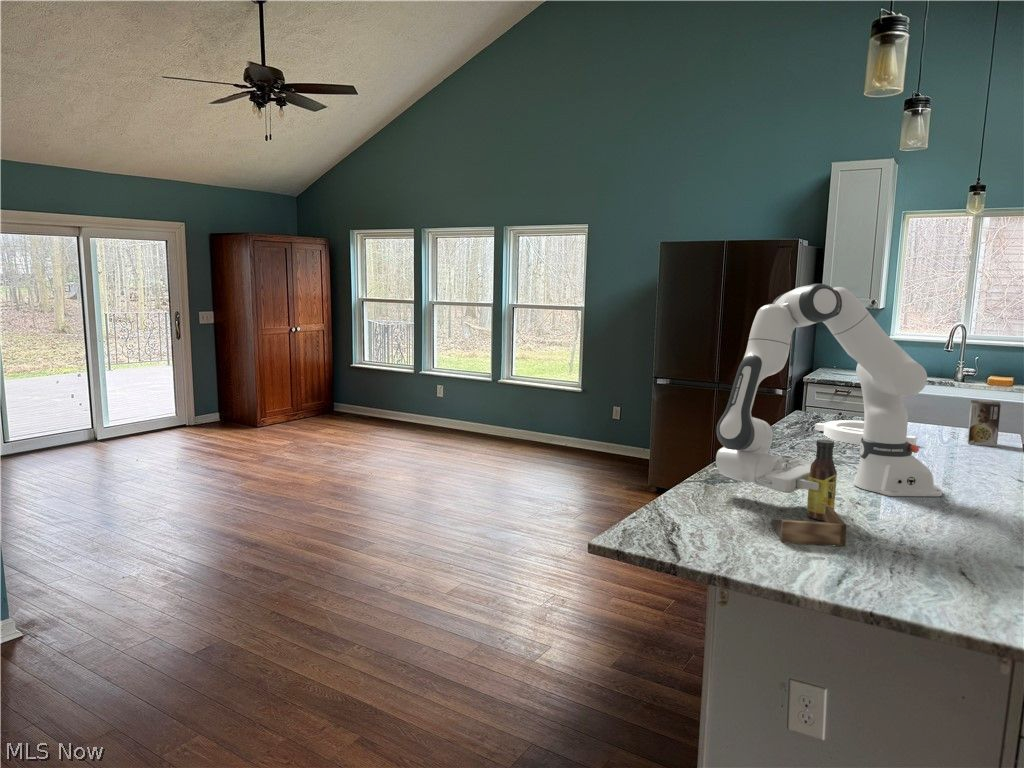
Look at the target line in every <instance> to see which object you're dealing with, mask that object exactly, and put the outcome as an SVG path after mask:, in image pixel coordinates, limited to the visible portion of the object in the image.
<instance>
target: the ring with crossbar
mask: <svg viewBox="0 0 1024 768" xmlns="http://www.w3.org/2000/svg"><path fill="white" fill-rule="evenodd" d="M814 430H815V431H820V432H821V431H822V432H823V436H824V435H825V436H827V437H828V438H830V439H833V440H836V441H835V442H837V441H841V442H845V443H844V444H846V443H850V444H849V445H852V444H856V445H855V446H860V443H861V438H862V437H863V431H864V420H852V419H850V420H847V419H846V420H845V419H843V420H842V419H841V420H839V419H838V420H831V421H827V422H824V423H822V422H817V423H814ZM828 438H827V439H828ZM917 438H918V437H917V436H912V435H907V436H906V441H907V442H908V443H910V444H912V445H916V444H917ZM830 439H829V440H830ZM833 440H832V441H833ZM841 442H840V443H841Z"/></svg>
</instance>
